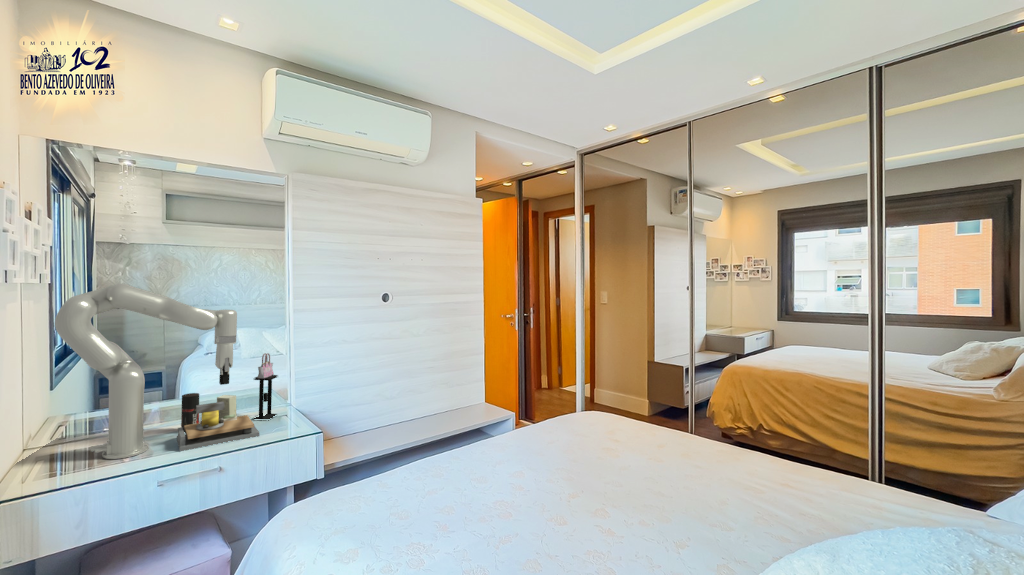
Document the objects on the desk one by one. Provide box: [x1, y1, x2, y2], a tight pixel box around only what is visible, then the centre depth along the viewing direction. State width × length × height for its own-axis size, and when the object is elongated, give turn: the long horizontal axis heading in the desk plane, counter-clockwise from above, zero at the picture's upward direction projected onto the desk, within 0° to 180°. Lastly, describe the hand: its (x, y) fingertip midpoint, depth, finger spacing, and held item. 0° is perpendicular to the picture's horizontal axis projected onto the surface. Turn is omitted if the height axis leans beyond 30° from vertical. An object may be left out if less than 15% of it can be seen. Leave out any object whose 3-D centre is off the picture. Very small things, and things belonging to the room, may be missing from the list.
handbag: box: [252, 352, 279, 422], centre depth 199 cm, size 10×8×30 cm
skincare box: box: [216, 394, 237, 420], centre depth 190 cm, size 6×4×12 cm
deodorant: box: [180, 392, 200, 434], centre depth 180 cm, size 6×6×15 cm
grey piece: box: [176, 425, 260, 452], centre depth 174 cm, size 26×14×5 cm, turn 132°
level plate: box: [184, 401, 255, 439], centre depth 174 cm, size 22×14×10 cm, turn 132°
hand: (224, 383), depth 177 cm, fingers closed
